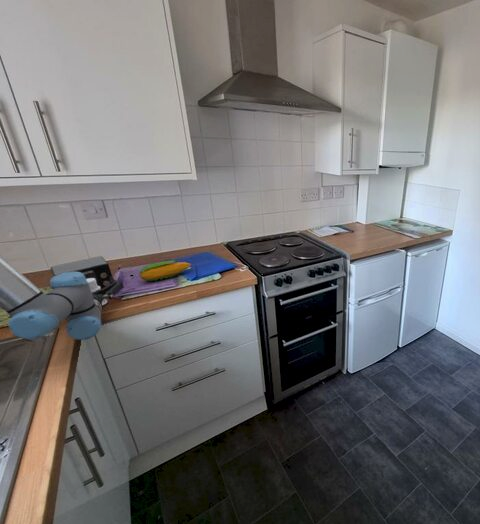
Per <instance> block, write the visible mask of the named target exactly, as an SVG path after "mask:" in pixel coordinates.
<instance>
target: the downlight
mask: <svg viewBox="0 0 480 524" xmlns="http://www.w3.org/2000/svg"><path fill="white" fill-rule="evenodd" d="M86 280H87V282H88V283H89V287H90V290H91V293H93V292H95V291H96V290H101V288H100V286H97V283H96V280H95V278H88V279H86ZM107 303H108V300H107V299H106V298H105V299H104V300H103V301H102V307H103V306H104V305H106V304H107Z"/></svg>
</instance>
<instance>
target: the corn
mask: <svg viewBox="0 0 480 524" xmlns="http://www.w3.org/2000/svg"><path fill="white" fill-rule="evenodd" d="M191 265H192V264H191V263H189V262H185V261H183V262H182V261H181V262H177V260H165V261H160V262H156V263H152V264H148V265H146V266H144V267H143V268H142V269H141V270H140V272H139V277H140V279H142V280H143V281H147V282H155V281H160V280H164V279H163V278H165V279H169V278H173V277H176V276H177V275H178V274H180V273H182V272H184V271H186V270H188V269H189V268H190V267H191ZM168 277H169V278H168ZM158 279H160V280H158ZM153 280H154V281H153Z"/></svg>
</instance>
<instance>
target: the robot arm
mask: <svg viewBox="0 0 480 524" xmlns="http://www.w3.org/2000/svg"><path fill="white" fill-rule="evenodd" d="M112 276H113V275H112ZM112 276H110V284H109V285H108V286H106V287H104V288H102V289H101V290H96V291H95V292H93V293H91V290H90V287H89V283H88V282H87V280H86V278H85V276H84V274H83V273H81V272H67V273H62V274H59V275H56V276H54V275H53V277H51V278H50V280H49V284H50V288H51V290H49V291H48V292H47V293H45V292H43V291H42V290H41V289H40V288H39V287H37V286H36V285H35V284H34V283H33V282H32V281H31V280H29V279H28V278H27V277H26V276H25V275H23V274H22V273H21V272H20V271H19V270H18V269H16V268H15V267H14V266H13V265H12V264H11V263H10V262H8V261H7V260H6V259H5V258H4V257H3V256H1V255H0V308H1V309H2V310H3V311H4V312H6V313H7V314H8V315H9V316H11V318H10V319H9V321H8V325H7V326H8V328H9V330H10V332H11V334H13V335H14V336H16V337H18V338H20V339H24V340H36V339H37V340H38V339H40V338H43V337H45V336H46V335H48V334H49V333H50V332H51V331H53V330H56V328H57V327H58V326H59V325H60V324H61V323H62V322H64V320H65V322H66V326H65V329H66V334H67V335H68V337H70V338H72V339H73V340H77V341H84V340H89V339H91V338H94V337H95V336H96V335H97V334H98V333H99V332H100V330H101V326H102V325H103V324H102V308H103V306H102V301H103V300H104V299H105V300H106V299H109V300H114V298H115V296H116V295H118V293H119V292H120V291H122V290H123V289H124V288H125V286H124V283H123V281H118V280H117V279H114V276H113V277H112ZM113 279H114V280H113Z"/></svg>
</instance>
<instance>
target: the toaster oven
mask: <svg viewBox="0 0 480 524" xmlns="http://www.w3.org/2000/svg"><path fill="white" fill-rule="evenodd" d="M50 270H51V273H52V275H53V277H54V276H56V275H59V274H62V273H67V272H81V273H83V274H84V276H85V278H86V279H88V278H95V280H96V283H97V286H100V288H101V289H102V288H104V287H106V286H108V285H109V284H110V276H112V277H113V280H115V279H114V276H113V274H112V270H111V267H110V265H109V263H108V261H106V260H105V258H104V257H103V256H101V255H98V256H94V257H89V258H84V259H80V260H75V261H70V262H66V263H65V262H64V263H60V264H56V265H52V266H50Z"/></svg>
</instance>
